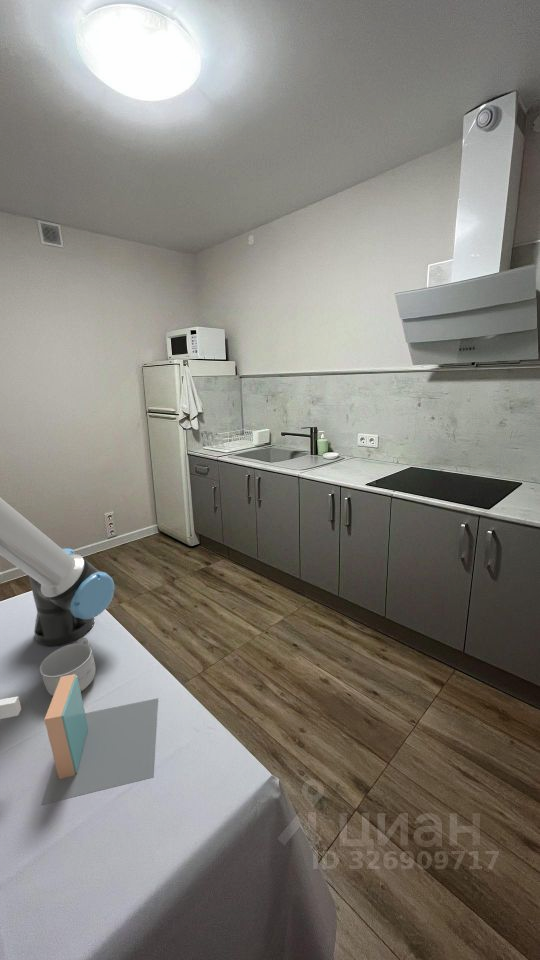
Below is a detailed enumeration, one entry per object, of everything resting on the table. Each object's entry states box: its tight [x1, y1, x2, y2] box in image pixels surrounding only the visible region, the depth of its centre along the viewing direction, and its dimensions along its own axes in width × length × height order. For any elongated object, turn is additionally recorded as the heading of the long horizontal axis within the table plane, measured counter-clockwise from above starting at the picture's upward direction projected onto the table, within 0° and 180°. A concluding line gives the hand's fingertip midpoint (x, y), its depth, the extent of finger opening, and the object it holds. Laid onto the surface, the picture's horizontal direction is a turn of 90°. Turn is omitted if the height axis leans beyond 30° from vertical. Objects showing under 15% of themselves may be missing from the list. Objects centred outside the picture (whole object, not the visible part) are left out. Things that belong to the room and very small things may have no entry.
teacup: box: [39, 637, 96, 697], centre depth 92 cm, size 14×11×8 cm
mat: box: [41, 697, 159, 806], centre depth 76 cm, size 18×18×1 cm
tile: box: [44, 674, 88, 779], centre depth 73 cm, size 10×3×13 cm, turn 13°
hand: (18, 705), depth 70 cm, fingers closed
